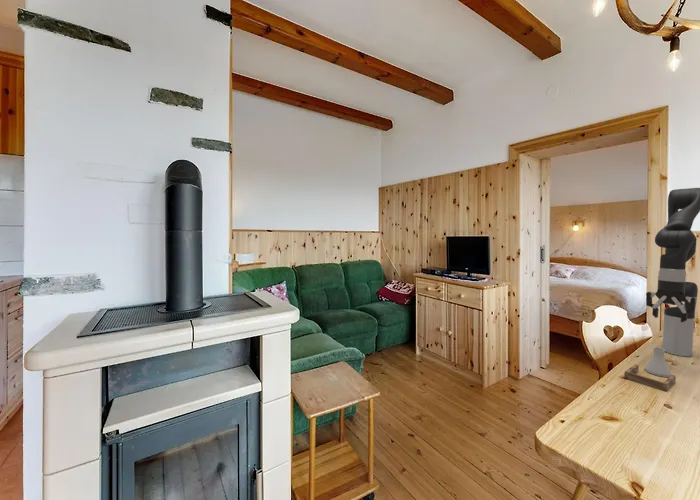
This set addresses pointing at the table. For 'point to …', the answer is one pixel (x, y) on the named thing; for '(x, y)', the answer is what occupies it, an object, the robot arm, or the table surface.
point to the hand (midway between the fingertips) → (668, 319)
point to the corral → (648, 379)
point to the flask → (658, 363)
